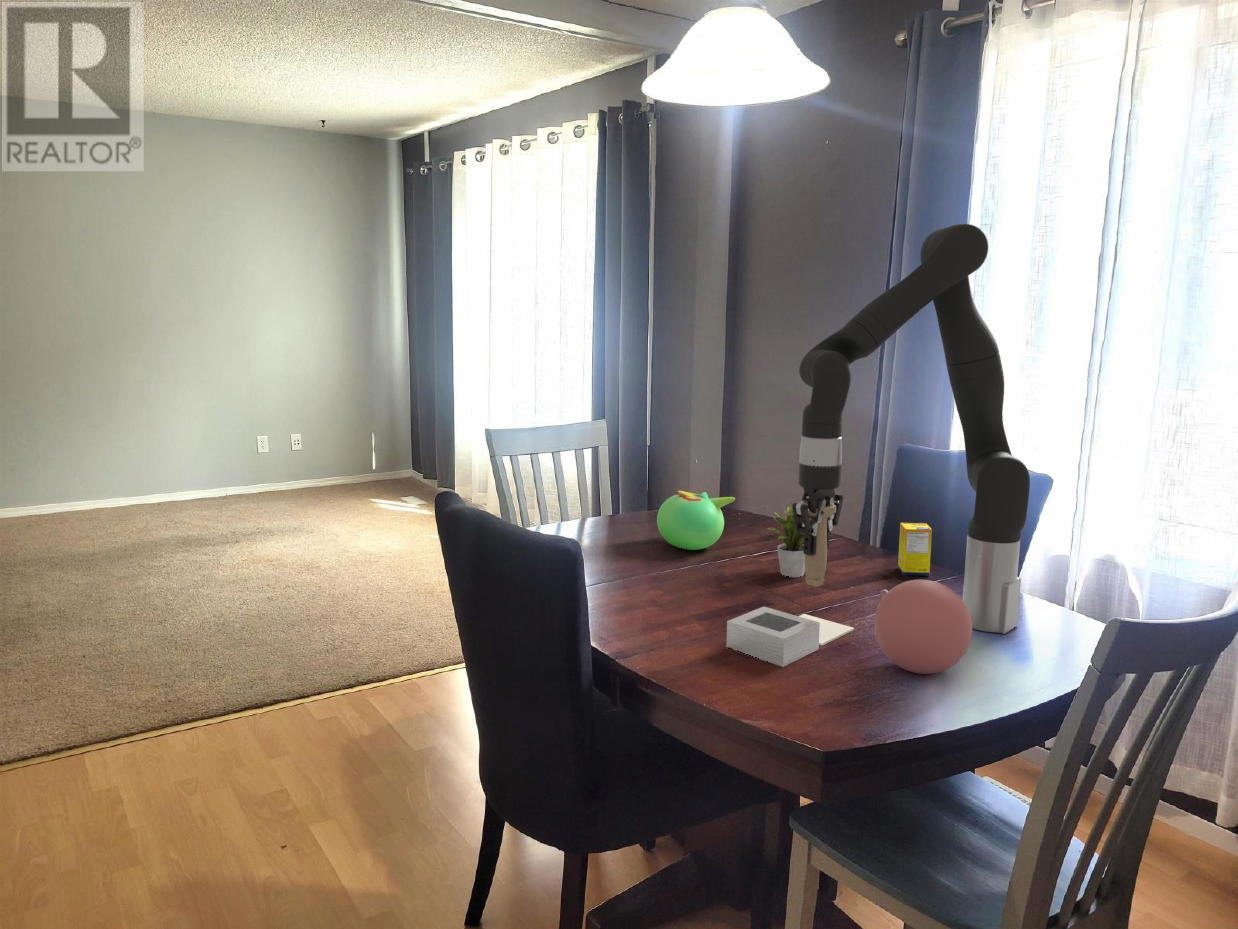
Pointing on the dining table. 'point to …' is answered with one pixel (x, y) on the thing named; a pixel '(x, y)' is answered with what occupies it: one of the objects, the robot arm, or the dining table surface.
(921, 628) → the balloon
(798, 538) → the house plant
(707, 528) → the toy bird
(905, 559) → the supplement box
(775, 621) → the collar
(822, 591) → the dining table surface
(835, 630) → the mat
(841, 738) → the dining table surface
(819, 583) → the handle
